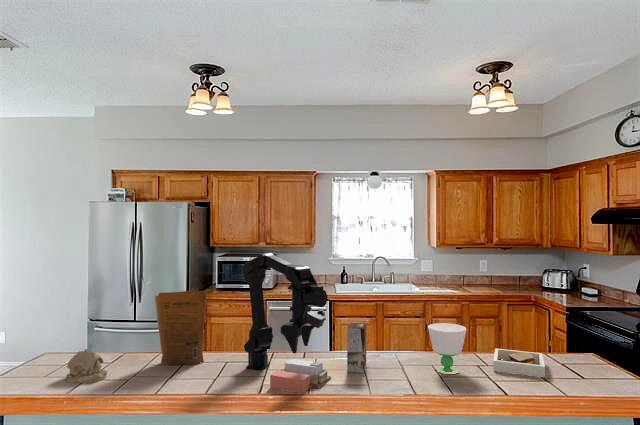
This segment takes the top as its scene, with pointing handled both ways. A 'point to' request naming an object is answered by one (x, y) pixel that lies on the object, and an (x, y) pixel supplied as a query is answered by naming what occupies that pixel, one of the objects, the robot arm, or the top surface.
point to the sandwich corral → (518, 367)
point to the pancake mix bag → (181, 326)
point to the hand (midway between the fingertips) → (300, 349)
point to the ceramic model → (85, 368)
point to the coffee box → (356, 347)
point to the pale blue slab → (304, 367)
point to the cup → (447, 342)
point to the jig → (314, 379)
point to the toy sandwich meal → (521, 358)
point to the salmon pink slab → (290, 381)
